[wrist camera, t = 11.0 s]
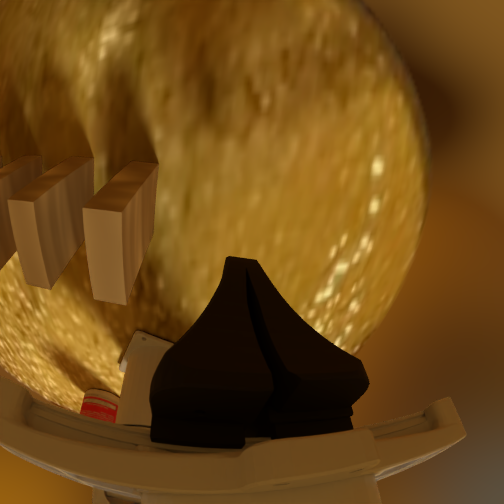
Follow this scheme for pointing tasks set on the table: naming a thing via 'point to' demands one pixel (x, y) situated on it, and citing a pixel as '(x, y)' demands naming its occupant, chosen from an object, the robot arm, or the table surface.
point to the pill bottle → (100, 405)
